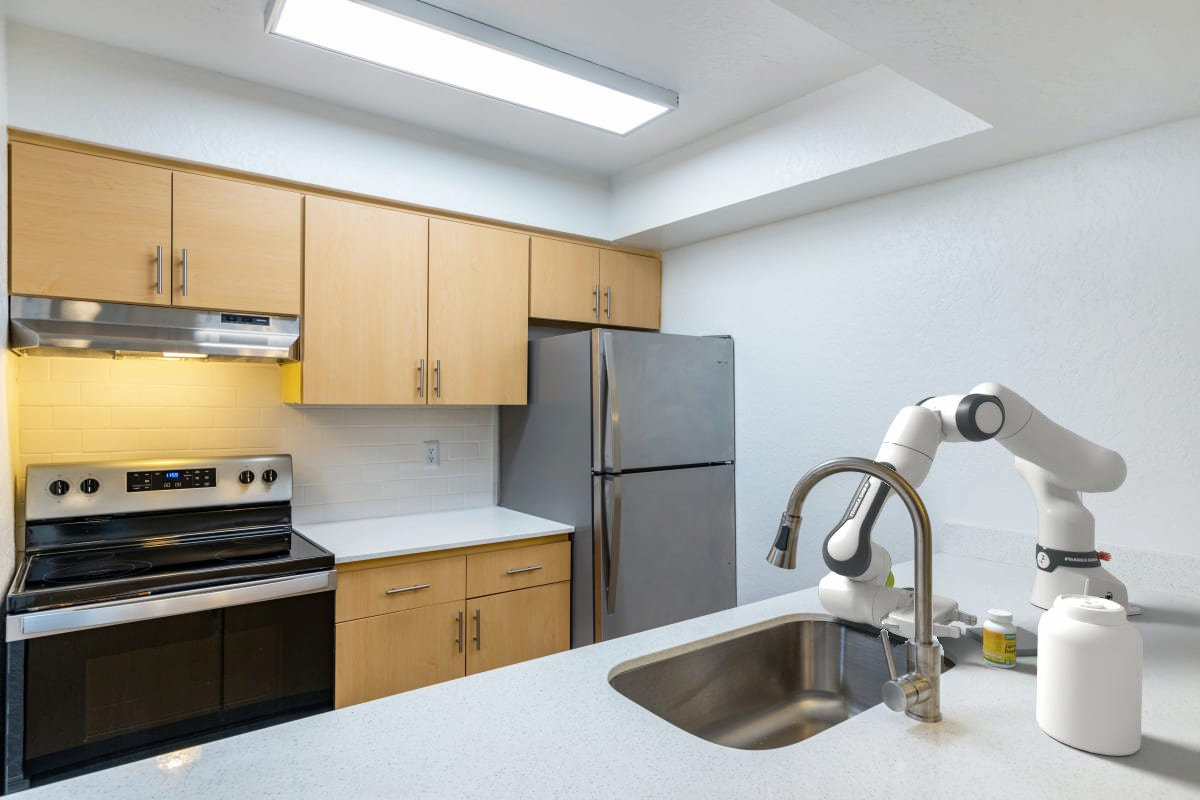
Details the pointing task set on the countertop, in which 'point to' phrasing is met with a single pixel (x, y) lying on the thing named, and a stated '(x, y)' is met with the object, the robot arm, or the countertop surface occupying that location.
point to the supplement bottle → (999, 639)
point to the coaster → (1024, 640)
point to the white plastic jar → (1090, 675)
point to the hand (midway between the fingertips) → (968, 627)
